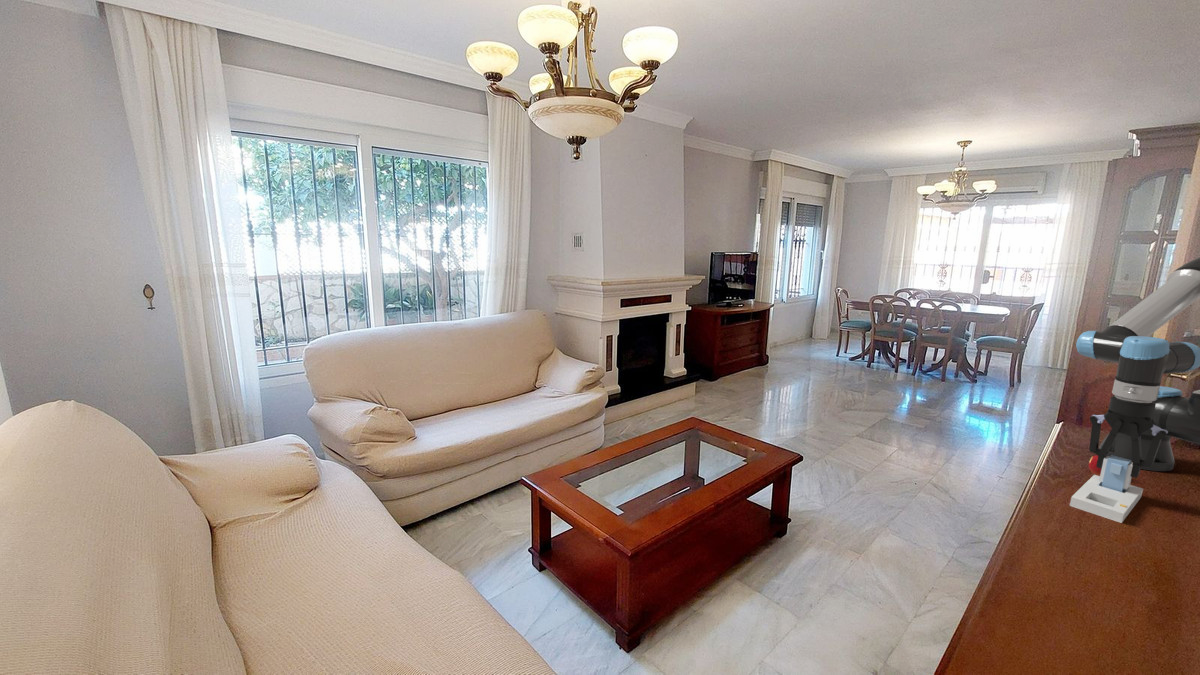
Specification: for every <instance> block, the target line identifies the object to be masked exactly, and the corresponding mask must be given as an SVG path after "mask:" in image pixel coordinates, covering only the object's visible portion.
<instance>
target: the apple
mask: <svg viewBox="0 0 1200 675" xmlns="http://www.w3.org/2000/svg"><path fill="white" fill-rule="evenodd" d="M1097 460H1098V455H1097V454H1095V455H1093V456H1091V457H1090V459H1089V462H1088V469H1089V471H1090V472H1091V474H1093V475H1097V476H1100V474H1101V470H1102V469H1101V468H1097V466H1096V465H1097Z"/></svg>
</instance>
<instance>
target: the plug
mask: <svg viewBox="0 0 1200 675" xmlns="http://www.w3.org/2000/svg"><path fill="white" fill-rule="evenodd" d="M1131 461H1132V460H1129V459H1125V458H1121V457H1117V456H1113V455H1111V456H1110V457H1109V458H1108V459H1107V464H1106V469H1105V473H1104V478H1103V482H1102V487H1106V488H1109V489H1112V490H1116V491H1119V492H1122V493H1124V491H1125V489H1124V488H1123V485H1124V481H1125V477H1126V472H1127V468H1128V465H1129V463H1130V462H1131Z"/></svg>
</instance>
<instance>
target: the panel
mask: <svg viewBox="0 0 1200 675" xmlns="http://www.w3.org/2000/svg"><path fill="white" fill-rule="evenodd" d="M1099 479H1100V476H1097V475H1095V474H1093V475H1092V476H1091V477H1090V479H1088V480H1087V481H1086V482H1085V483H1084V484H1083V485H1082V486H1081V487H1080V488H1079V489H1077V491H1076V492H1075V493H1074V494H1073V495H1071V497H1070V502H1069V507H1072V508H1076V509H1078V510H1081V511H1084V512H1087V513H1090V514H1093V515H1096V516H1100V517H1102V518H1106V519H1108V520H1112V521H1114V522H1116V523H1117V522H1118V523H1121V524H1122V523H1123V522H1124V521H1125V519H1127V517H1128V515H1129V514H1130V513H1131V512H1132V511H1133V509H1134V507H1135V506H1136V505H1137V503H1139V501H1140V499H1141V498H1142V496H1143V495H1142V494H1143V491H1144V487H1143V488H1142V487H1139V486H1136V485H1132V484H1130V486H1129V488H1128V489H1125V491H1124V493H1122V492H1119V491H1116V490H1112V489H1109V488H1106V487H1102V482H1100V481H1099Z"/></svg>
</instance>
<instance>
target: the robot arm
mask: <svg viewBox="0 0 1200 675" xmlns="http://www.w3.org/2000/svg"><path fill="white" fill-rule="evenodd" d="M1199 299H1200V256H1199V257H1197V258H1195V259H1193V260H1191V261H1188V262H1186V263H1184V264H1182V265H1181V266H1180V267H1178V268H1177V269H1175V270H1174V271H1173V272H1171V273H1170V274H1169V275H1168V276H1167V278H1166V282H1165V283H1163V284H1162V285H1161V286H1160V287H1159V288H1157V289H1156V290H1154V291H1153V292H1152V293H1150V294H1149V295H1148V296H1146V297H1145V298H1144V299H1142V300H1140V302H1139V303H1138V304H1136V305H1135V306H1133V307H1132V308H1131V309H1130V310H1128V311H1127V312H1125V313H1124V314H1123V315H1122V316H1121V317H1118V319H1117V320H1115V321H1114V322H1113V323H1111V324H1110V325H1108V326H1107V327H1106V328H1104V329H1103V330H1101V331H1099V330H1087V331H1084V332H1082V333H1081V334H1080V335H1079V336H1078V338H1077V340H1076V343H1075V346H1076V347H1075V348H1076V351H1077V353H1078V354H1079V355H1081V356H1083V357H1087V358H1091V359H1095V360H1100V361H1105V362H1111V363H1116V364H1117V368H1116V374H1115V377H1114V381H1113V386H1112V391H1111V393H1112V396H1110V400H1109V404H1108V409H1107V411H1106V412H1105V413H1104V414H1099V415H1098V414H1097V413H1096V414H1094V413H1093V414H1092V415H1091V416H1090V417H1089V420H1090V423H1091V432H1090V440H1089V448H1088V450H1089V452H1090V453H1093V454H1095V455H1098V460H1097V465H1096V466H1097V468H1101V469H1102V470H1101V474H1100V479H1099V481H1100V482H1103V478H1104V473H1105V469H1106V464H1107V459H1108V458H1109V457H1110V456H1111V455H1113V456H1117V457H1121V458H1125V459H1129V460H1132V461H1131V462H1130V463H1129V465H1128V468H1127V472H1126V477H1125V481H1124V485H1123V488H1124V489H1128V488H1129V486H1130V485H1131V482H1132V478H1135V479H1136V478H1138V477H1139V475H1140V472H1141V470H1146V471H1152V472H1153V471H1154V472H1170V471H1172V470H1174V467H1175V463H1176V461H1175V458H1174V453H1173V450H1172V446H1171V439H1172V437H1173V438H1176V439H1178V440H1183V441H1185V442H1190V443H1191V444H1196V445H1199V446H1200V389H1198V390H1194V391H1192V393H1191V396H1190V397H1185V396H1183V392H1182V390H1181V389H1180V388H1179V389H1178V388H1176V387H1175V388H1174V387H1170V386H1162V385H1161V382H1162V380H1163V379H1162V378H1163V375H1166V374H1176V373H1177V374H1179V373H1181V374H1182V373H1186V372H1190V371H1193V370H1197V369H1198V368H1199V367H1200V347H1199V346H1198V345H1196V344H1195V343H1191V342H1186V341H1172V342H1170V341H1168V340H1167V339H1164V338H1160V337H1155V336H1152V335H1153V334H1154V333H1155V332H1156V331H1158V330H1159V329H1161V328H1162V327H1163V326H1164V325H1166V324H1167V323H1168V322H1170V321H1171V320H1172V319H1173V318H1175V317H1176V316H1177V315H1179V314H1180V313H1182V312H1183V311H1184V310H1185V309H1187V308H1188V307H1189V306H1190V305H1192V304H1193V303H1195V302H1196V301H1197V300H1199ZM1104 420H1105V421H1106V422H1107V424H1108V425H1109V426H1110V428H1111V429H1110V431H1109V433H1108V434H1107V435H1106V437H1105V438H1104V439H1103V440H1102V442H1101V443H1100V436H1101V429H1102V424H1103V423H1104Z"/></svg>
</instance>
